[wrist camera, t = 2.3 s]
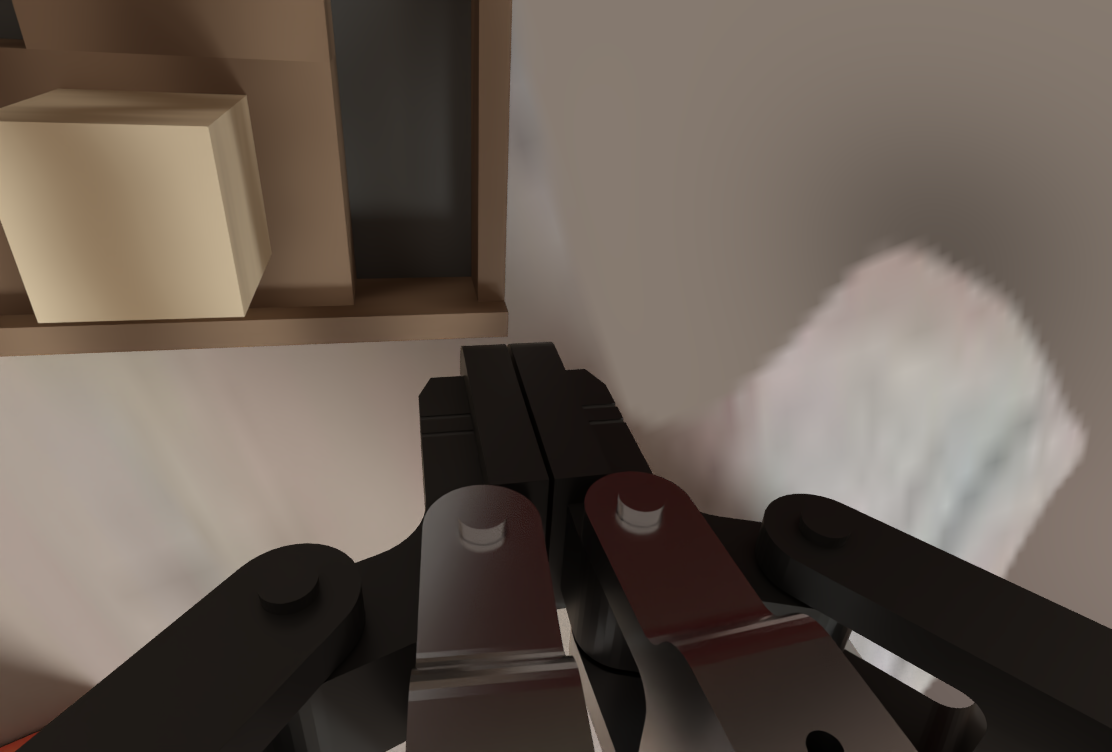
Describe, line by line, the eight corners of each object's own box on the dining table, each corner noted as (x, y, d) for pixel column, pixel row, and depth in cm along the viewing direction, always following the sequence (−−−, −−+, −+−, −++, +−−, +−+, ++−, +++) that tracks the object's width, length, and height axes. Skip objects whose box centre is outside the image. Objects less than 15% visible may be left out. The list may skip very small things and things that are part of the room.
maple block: (246, 95, 20) (208, 126, 16) (271, 253, 23) (244, 316, 18) (58, 88, 19) (-36, 120, 15) (106, 255, 21) (37, 322, 17)
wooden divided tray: (503, -283, 19) (543, -374, 14) (493, 294, 28) (515, 363, 23) (-682, -470, 14) (-1288, -722, 9) (-225, 313, 23) (-398, 408, 18)
